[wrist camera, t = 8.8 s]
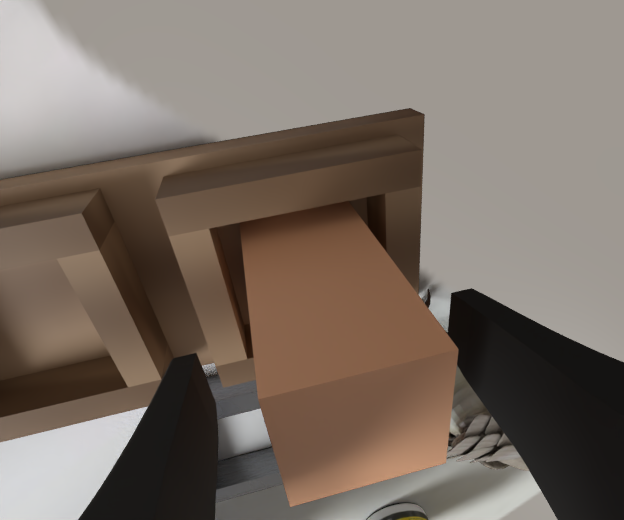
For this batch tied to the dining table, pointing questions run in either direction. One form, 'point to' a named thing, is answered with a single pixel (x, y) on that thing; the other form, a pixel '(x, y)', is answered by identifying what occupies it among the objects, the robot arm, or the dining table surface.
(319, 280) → the peg
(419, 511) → the supplement bottle
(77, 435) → the dining table surface
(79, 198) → the rack
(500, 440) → the decorative bird
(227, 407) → the socket
